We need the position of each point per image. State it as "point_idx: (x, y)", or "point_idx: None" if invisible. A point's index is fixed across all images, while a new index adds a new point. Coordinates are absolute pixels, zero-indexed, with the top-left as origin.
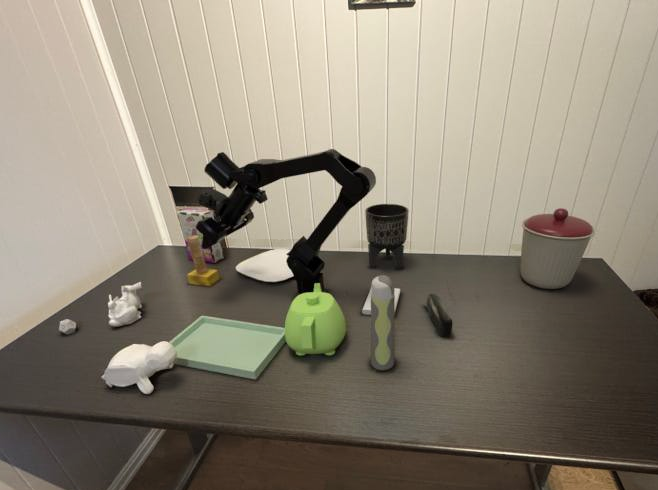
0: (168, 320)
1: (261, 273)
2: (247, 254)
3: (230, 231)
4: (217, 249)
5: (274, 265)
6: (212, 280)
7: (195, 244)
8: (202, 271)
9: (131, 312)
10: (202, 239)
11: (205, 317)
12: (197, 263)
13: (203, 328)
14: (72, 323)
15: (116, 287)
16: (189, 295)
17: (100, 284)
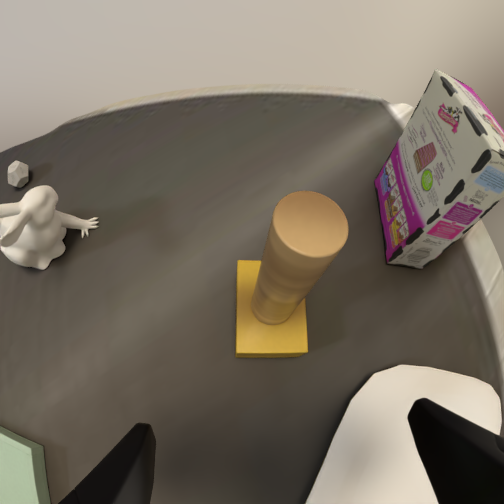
0: (36, 346)
1: (359, 482)
2: (463, 318)
3: (437, 478)
4: (427, 249)
5: (420, 472)
6: (259, 356)
7: (281, 268)
8: (258, 316)
9: (11, 260)
10: (83, 479)
11: (27, 460)
12: (256, 295)
13: (18, 457)
14: (14, 177)
15: (184, 124)
16: (160, 326)
17: (194, 98)
